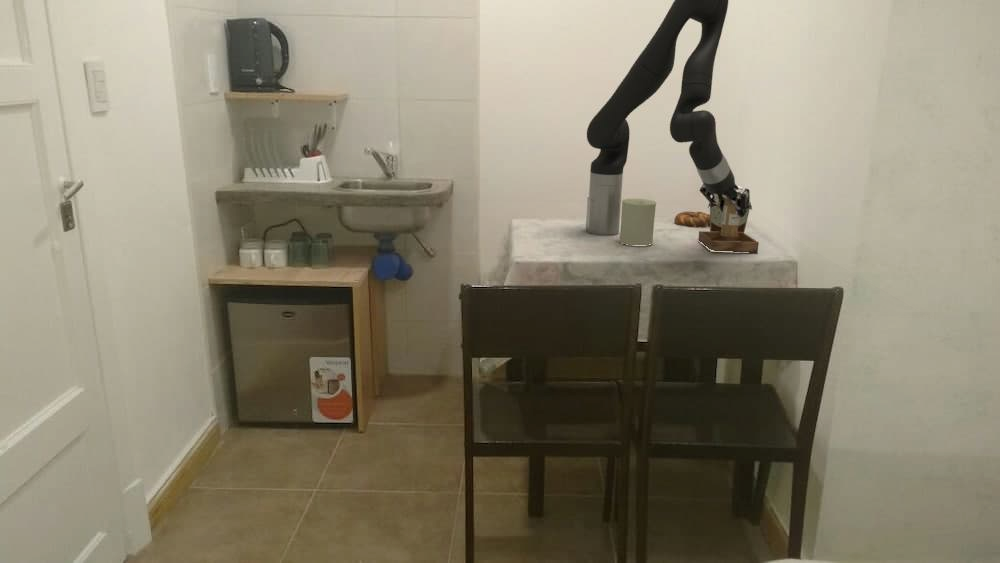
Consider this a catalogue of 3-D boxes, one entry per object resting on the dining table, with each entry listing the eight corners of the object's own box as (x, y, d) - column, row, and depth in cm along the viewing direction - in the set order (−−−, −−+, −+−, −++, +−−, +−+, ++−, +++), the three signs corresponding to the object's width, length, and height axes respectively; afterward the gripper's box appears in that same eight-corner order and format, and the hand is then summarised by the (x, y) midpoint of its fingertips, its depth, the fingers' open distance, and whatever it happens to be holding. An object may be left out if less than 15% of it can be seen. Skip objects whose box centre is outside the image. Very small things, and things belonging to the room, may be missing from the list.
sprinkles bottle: (735, 238, 194) (741, 188, 190) (718, 236, 196) (723, 186, 192) (739, 235, 198) (744, 186, 194) (721, 233, 200) (727, 184, 196)
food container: (744, 232, 217) (748, 198, 214) (748, 236, 211) (752, 202, 208) (701, 230, 218) (705, 197, 215) (705, 235, 212) (708, 201, 209)
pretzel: (678, 228, 221) (679, 216, 220) (669, 220, 231) (670, 209, 230) (718, 229, 221) (719, 217, 220) (707, 221, 232) (708, 210, 231)
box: (711, 252, 192) (712, 241, 191) (698, 241, 204) (699, 231, 203) (757, 253, 192) (758, 242, 191) (741, 242, 204) (742, 231, 203)
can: (625, 247, 196) (628, 203, 192) (614, 239, 205) (617, 196, 201) (657, 246, 197) (661, 202, 194) (645, 238, 206) (649, 196, 203)
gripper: (746, 163, 181) (765, 206, 192) (697, 157, 191) (718, 198, 202) (733, 186, 179) (752, 228, 190) (683, 179, 189) (705, 219, 201)
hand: (734, 213), depth 196 cm, fingers closed on sprinkles bottle, 4 cm apart
